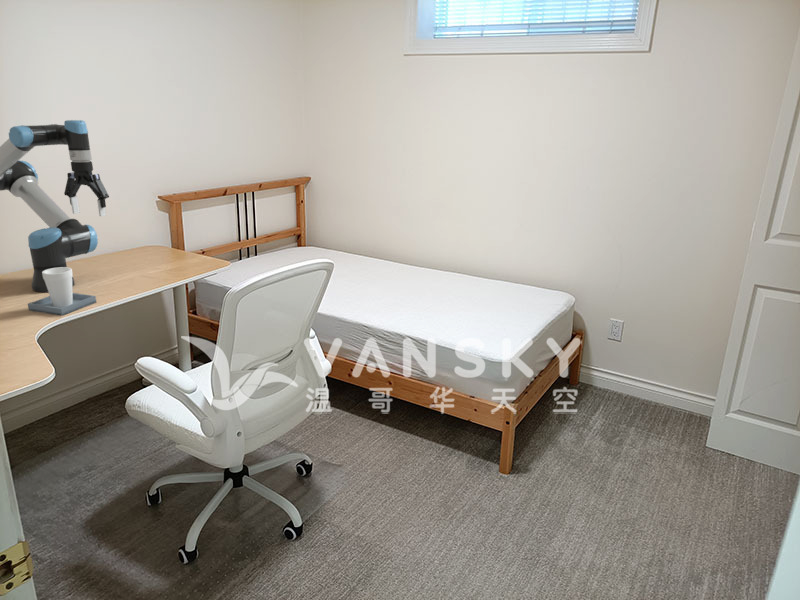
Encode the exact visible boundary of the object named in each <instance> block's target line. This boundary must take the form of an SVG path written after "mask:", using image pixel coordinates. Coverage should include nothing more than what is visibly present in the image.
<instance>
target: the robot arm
mask: <svg viewBox="0 0 800 600" xmlns="http://www.w3.org/2000/svg"><path fill="white" fill-rule="evenodd" d="M63 123H64V124H57V123H54V124H46V125H45V124H43V125H41V124H40V125H39V124H38V125H15V126H12V127H10V128H9V132H8V139H7V140H6V141H4V142H3V143H2V144H1V145H0V191H1V192H2V191H9V192H10V193H11V194H12V195H13V196H14V197H16V198H21V200H23V202H25V203H26V205H27V206H28V207H29V208H30V209H31V210H32V211H33V212H34V213H35V214H36V215H37V217H39V218H40V220H41V221H43V222H44V223H45V224H46V225H47V226H48V227H46V228H40V229H36V230H34V231H33V232H30V233H29V235H28V237H27V238H28V247H29V251H30V256H31V262H32V268H33V273H32V274H33V275H32V281H31V289H32V291H34V292H38V293H49V292H48V289H47V286H46V283H45V281H44V279H43V275H42V272H43V271H44V270H47V269H51V268H58V267H67V268H68V266H67V259H69V258H73V257H77V256H81V255H87V254H89V253H91V252H94V251H95V250H96V249H97V247H98V243H99V241H98V240H99V239H98V234H97V231H96V230H95V228H94V227H93V226H92V225H90V224H82V223H81V222H79V219H76V218H71V217H70V216H69V215H68V214H67V213H66V212H65V211H64V210H63V209H62V208H61V206H59V205H58V204H57V203H56V202H55V201H54V200H53V199H52V198H51V197H50V196H49V195H48V194H47V193H46V192H45V191H44V189H42V187H40V186H39V176H38V173H36V172H37V171H36V168H35V167H34V166H33V165H32V164H31V163H30V162H28V161H25V160H21V159H22V158H23V157H25V155H27V153H29V152H30V151H31V150H32V149H34V148H35V147H39V146H40V147H43V146H57V145H59V146H60V145H66V146H67V147H68V149H67V150H68V154H69V160H70V161H71V162H70V166H71V171H72V172H67V179H66V185H65V188H64V193H63V194H64V196H67V197H68V198H69V203H70V206H71V211H72V214H73V215H76V214H79V213H81V212H80V208H79V207H80V205H79V200H78V196H77V193H78V192H79V189H80V187H81V186H82V185H83V186H87V187H89V188H90V189H91V191H92V192H93V194H94V195H95V196H96V197H97V200H96V201H97V208H98V215H99V217H105V216H107V211H106V207H107V205H106V199H108V198H110V195H109V193H108V190H107V189H106V188H105V186H104V184H103V181H102V180H101V177H100V174H99V173H95V174H93V170H94V168H93V161H92V154H91V148H90V140H89V132H88V131H89V130H88V128H87V123H86V121H85V120H81V119H79V120H78V119H77V120H76V119H74V120H73V119H71V120H70V119H67V120H64V122H63ZM75 284H76V283H75V279H74V277H73V276H72V287H74V286H75Z"/></svg>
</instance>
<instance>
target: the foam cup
mask: <svg viewBox="0 0 800 600" xmlns="http://www.w3.org/2000/svg"><path fill="white" fill-rule="evenodd" d="M42 275H43V279H44V281H45V283H46V286H47V289H48V292H47V293H48V294H49V296H50V298H51V301H52V304H53V306H54V307H65V306H68V305H70V304H72V303H73V293H74V292H73V286H72V277H73V269H72V268H71V267H68V266H67V267H58V268H51V269H47V270H44V271H43V272H42Z"/></svg>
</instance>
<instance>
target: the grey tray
mask: <svg viewBox="0 0 800 600" xmlns="http://www.w3.org/2000/svg"><path fill="white" fill-rule="evenodd" d="M72 293H73V303H72V304H70V305H68V306H65V307H54V306H53V304H52V301H51V298H50V295H49V296H45V297H43V298H39V299H37V300H34V301H32V302H29V303H27V308H28V311H30V312H35V313H36V312H37V313H41V314H49V315H56V316H60V317H63V316H66V315H68V314H71V313H73V312H76V311H78V310H81V309H83V308H86V307H89V306H91V305H94V304H96V303H97V297H96V295H90V294H84V293H77V292H72Z"/></svg>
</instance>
